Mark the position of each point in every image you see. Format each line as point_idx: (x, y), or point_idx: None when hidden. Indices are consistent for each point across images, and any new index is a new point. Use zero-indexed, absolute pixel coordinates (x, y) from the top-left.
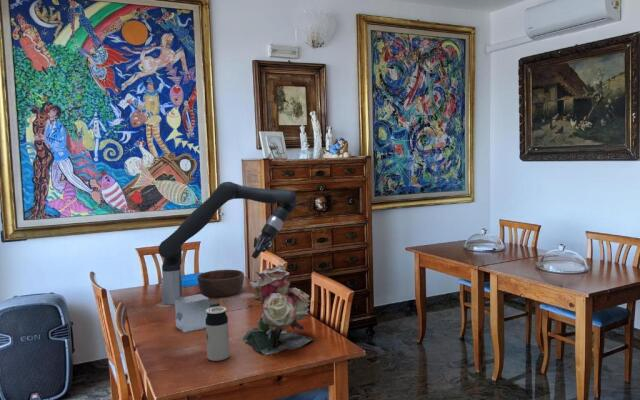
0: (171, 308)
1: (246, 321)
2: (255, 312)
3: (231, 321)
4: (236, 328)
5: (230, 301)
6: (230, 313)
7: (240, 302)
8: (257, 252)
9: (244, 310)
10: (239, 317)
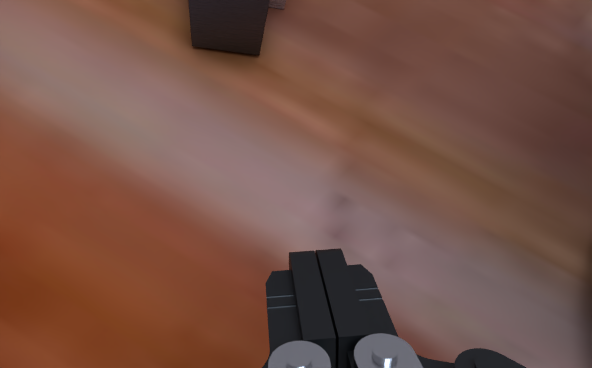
0: (556, 15)
1: (110, 147)
2: (215, 269)
3: (172, 95)
4: (52, 55)
5: (503, 275)
6: (299, 161)
7: (451, 309)
8: (272, 328)
9: (294, 243)
10: (201, 157)
